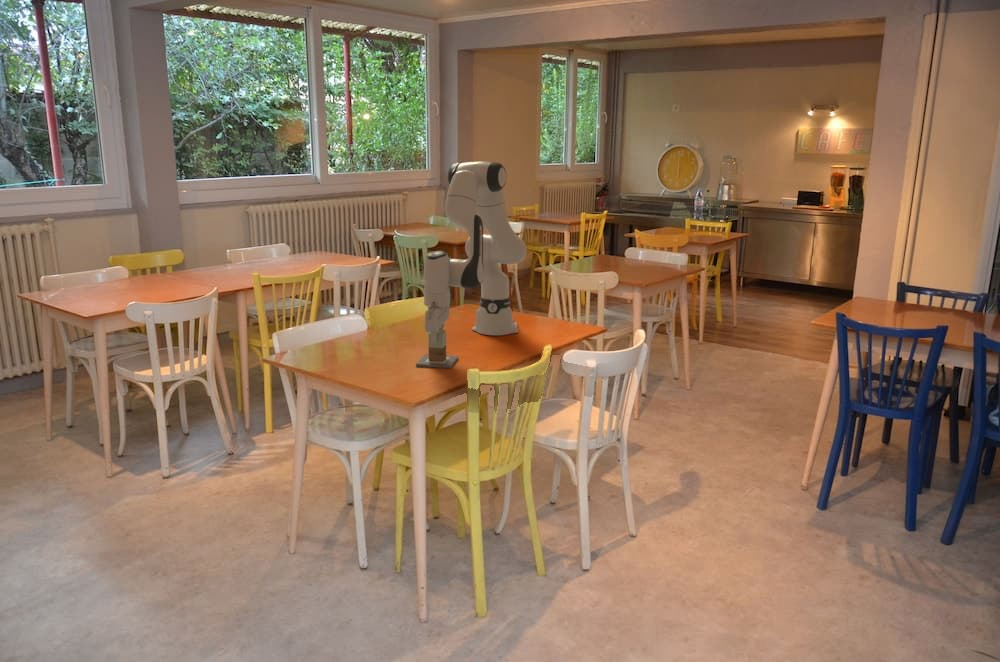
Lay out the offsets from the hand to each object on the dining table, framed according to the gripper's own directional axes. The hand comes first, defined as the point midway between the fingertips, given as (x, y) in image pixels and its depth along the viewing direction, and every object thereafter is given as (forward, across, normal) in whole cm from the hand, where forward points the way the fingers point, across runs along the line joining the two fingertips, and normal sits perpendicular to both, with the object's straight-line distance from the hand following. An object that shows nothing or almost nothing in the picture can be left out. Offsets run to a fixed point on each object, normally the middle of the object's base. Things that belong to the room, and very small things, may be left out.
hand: (437, 338), depth 270 cm
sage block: (+3, 0, 0) cm, 3 cm away
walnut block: (+8, 0, 0) cm, 8 cm away
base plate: (+9, 0, 0) cm, 9 cm away
